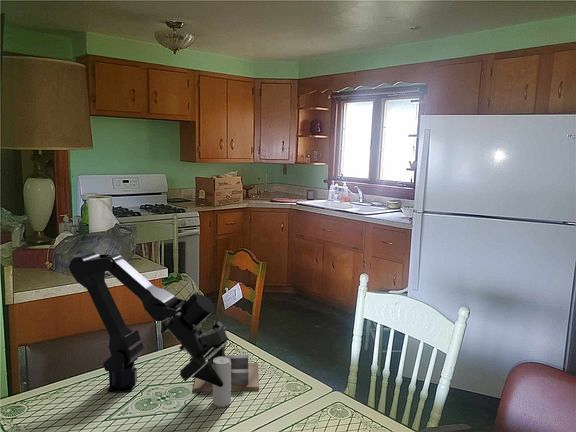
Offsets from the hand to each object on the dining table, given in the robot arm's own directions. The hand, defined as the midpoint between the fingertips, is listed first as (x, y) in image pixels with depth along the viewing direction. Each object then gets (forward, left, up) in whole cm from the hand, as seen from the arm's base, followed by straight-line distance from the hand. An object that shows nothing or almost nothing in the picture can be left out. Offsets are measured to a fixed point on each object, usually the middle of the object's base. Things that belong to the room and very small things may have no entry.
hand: (226, 380), depth 121 cm
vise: (0, +13, -7) cm, 15 cm away
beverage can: (-1, 0, -7) cm, 7 cm away
